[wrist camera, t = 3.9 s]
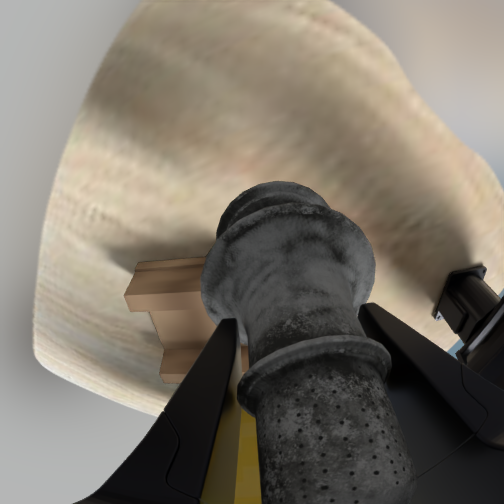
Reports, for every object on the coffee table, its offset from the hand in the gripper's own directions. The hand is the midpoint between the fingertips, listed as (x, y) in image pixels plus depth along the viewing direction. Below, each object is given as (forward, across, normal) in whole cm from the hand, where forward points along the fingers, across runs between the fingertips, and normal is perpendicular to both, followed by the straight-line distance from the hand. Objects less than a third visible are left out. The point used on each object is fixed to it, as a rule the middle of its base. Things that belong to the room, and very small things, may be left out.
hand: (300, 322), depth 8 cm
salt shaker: (+5, 0, 0) cm, 5 cm away
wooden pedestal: (+13, +6, +10) cm, 18 cm away
